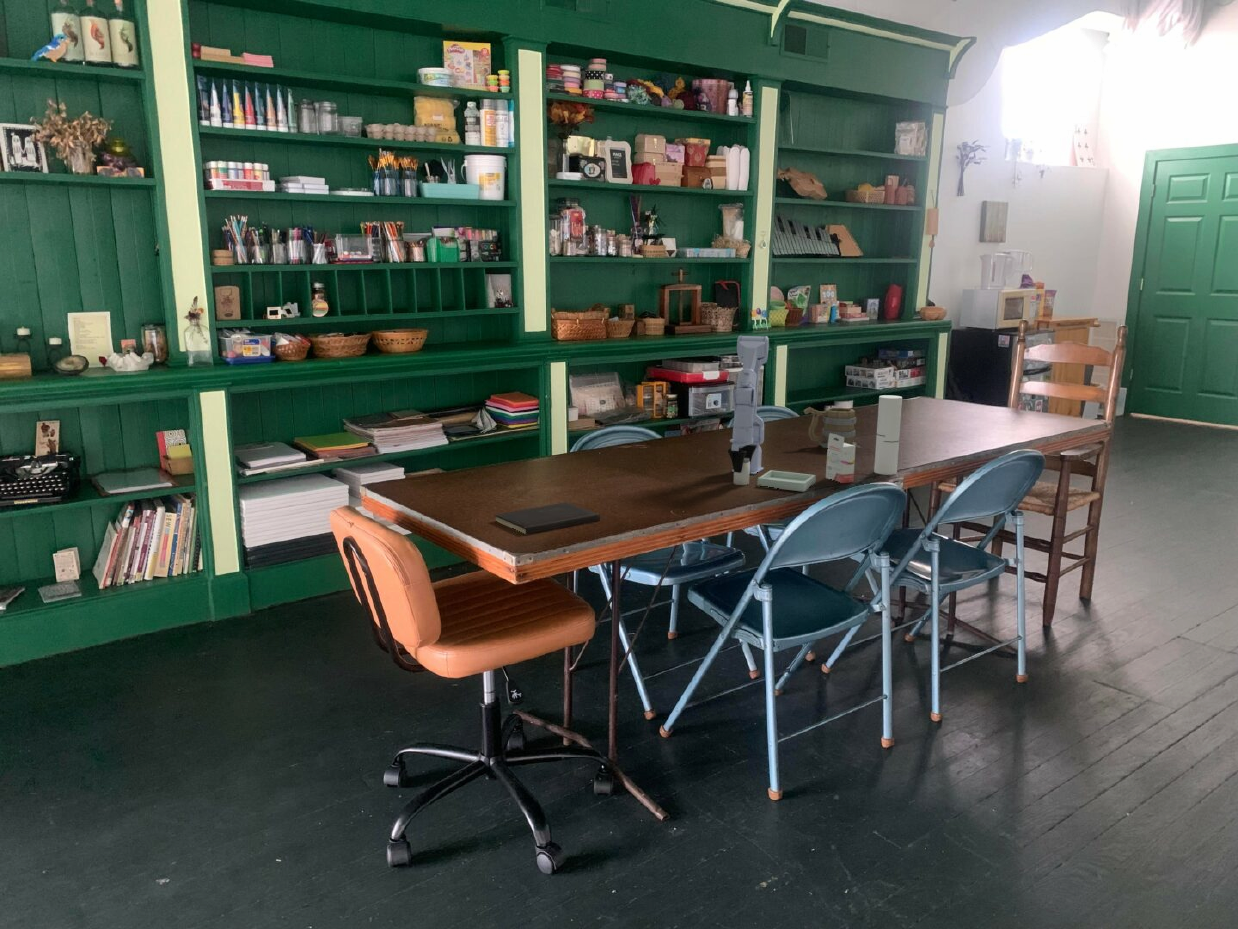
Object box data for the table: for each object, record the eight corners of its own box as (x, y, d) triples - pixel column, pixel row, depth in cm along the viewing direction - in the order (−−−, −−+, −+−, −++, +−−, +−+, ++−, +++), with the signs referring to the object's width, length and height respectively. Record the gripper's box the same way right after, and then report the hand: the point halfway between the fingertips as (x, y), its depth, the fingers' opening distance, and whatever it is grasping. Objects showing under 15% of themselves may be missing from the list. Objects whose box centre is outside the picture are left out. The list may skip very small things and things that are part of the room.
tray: (770, 477, 298) (770, 470, 298) (815, 483, 292) (815, 475, 291) (757, 486, 287) (757, 478, 287) (804, 491, 281) (804, 483, 280)
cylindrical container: (881, 468, 312) (886, 394, 307) (900, 472, 307) (906, 396, 302) (870, 472, 307) (875, 396, 302) (889, 475, 303) (895, 399, 297)
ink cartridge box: (854, 482, 293) (857, 436, 290) (841, 483, 291) (844, 437, 288) (837, 476, 301) (840, 431, 298) (824, 477, 299) (827, 432, 296)
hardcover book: (494, 523, 247) (494, 514, 247) (566, 510, 261) (566, 502, 260) (526, 537, 235) (526, 528, 234) (600, 522, 248) (600, 514, 248)
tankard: (850, 443, 355) (852, 404, 352) (859, 450, 343) (862, 409, 340) (797, 443, 355) (799, 404, 352) (805, 450, 343) (807, 409, 339)
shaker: (736, 480, 294) (737, 455, 292) (751, 482, 292) (752, 457, 290) (731, 484, 290) (732, 458, 288) (746, 485, 288) (747, 460, 286)
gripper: (738, 422, 295) (737, 464, 298) (722, 429, 283) (721, 473, 285) (760, 424, 292) (758, 466, 295) (745, 431, 279) (743, 475, 282)
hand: (741, 469), depth 290 cm, fingers open, 7 cm apart
